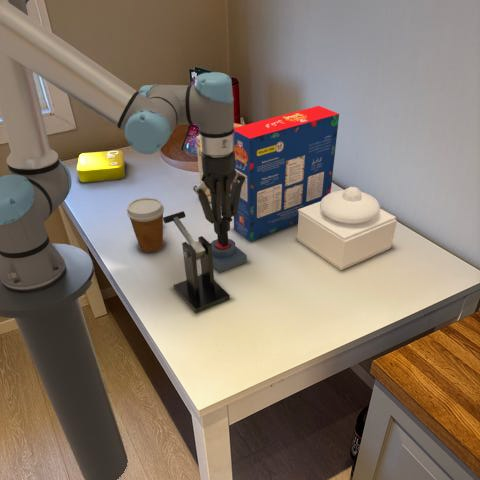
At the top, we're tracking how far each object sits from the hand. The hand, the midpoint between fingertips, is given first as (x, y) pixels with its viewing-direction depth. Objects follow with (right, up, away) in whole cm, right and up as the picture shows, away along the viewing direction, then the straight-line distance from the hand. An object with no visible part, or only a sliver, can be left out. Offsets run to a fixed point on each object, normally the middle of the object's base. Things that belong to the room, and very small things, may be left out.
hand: (223, 243), depth 122 cm
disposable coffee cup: (-20, 0, +8) cm, 21 cm away
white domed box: (+32, +1, +7) cm, 33 cm away
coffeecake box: (-1, +21, +31) cm, 38 cm away
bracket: (-5, -13, -8) cm, 16 cm away
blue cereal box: (+16, +9, +17) cm, 25 cm away
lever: (-8, -1, -13) cm, 15 cm away
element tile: (-43, +32, +45) cm, 70 cm away
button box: (0, -3, +3) cm, 5 cm away
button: (0, -2, +1) cm, 2 cm away
